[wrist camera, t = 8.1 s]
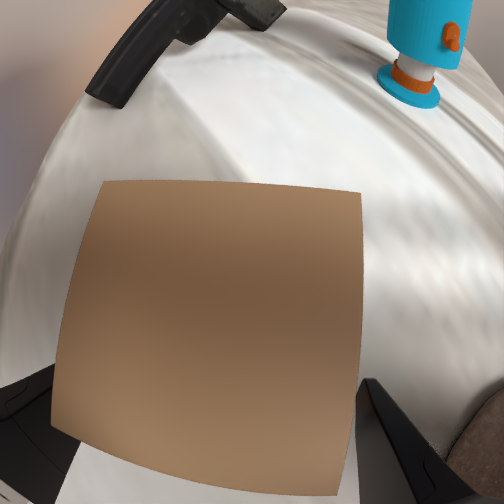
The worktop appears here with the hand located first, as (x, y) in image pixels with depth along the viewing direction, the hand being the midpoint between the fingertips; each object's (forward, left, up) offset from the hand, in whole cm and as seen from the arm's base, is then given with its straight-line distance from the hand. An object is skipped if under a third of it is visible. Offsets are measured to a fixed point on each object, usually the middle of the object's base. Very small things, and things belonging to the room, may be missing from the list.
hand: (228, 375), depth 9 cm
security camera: (+29, -13, -8) cm, 33 cm away
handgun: (+32, +11, -8) cm, 35 cm away
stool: (+1, 0, -7) cm, 7 cm away
